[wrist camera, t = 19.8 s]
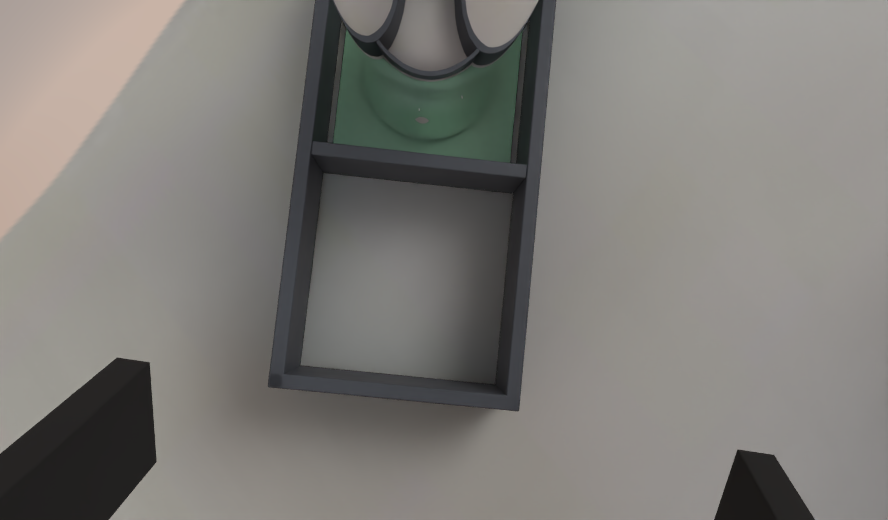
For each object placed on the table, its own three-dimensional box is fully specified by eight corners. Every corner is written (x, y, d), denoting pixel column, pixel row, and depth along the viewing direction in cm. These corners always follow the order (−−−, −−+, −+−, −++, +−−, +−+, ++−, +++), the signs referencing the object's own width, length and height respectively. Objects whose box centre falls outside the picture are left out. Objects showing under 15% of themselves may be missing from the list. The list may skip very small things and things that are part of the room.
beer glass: (326, 59, 29) (231, -200, 14) (445, -20, 30) (476, -351, 15) (411, 178, 29) (406, 42, 14) (530, 96, 29) (648, -120, 15)
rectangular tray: (544, -11, 30) (561, -52, 27) (506, 399, 29) (519, 411, 25) (335, -36, 30) (325, -81, 26) (285, 377, 28) (267, 387, 25)
